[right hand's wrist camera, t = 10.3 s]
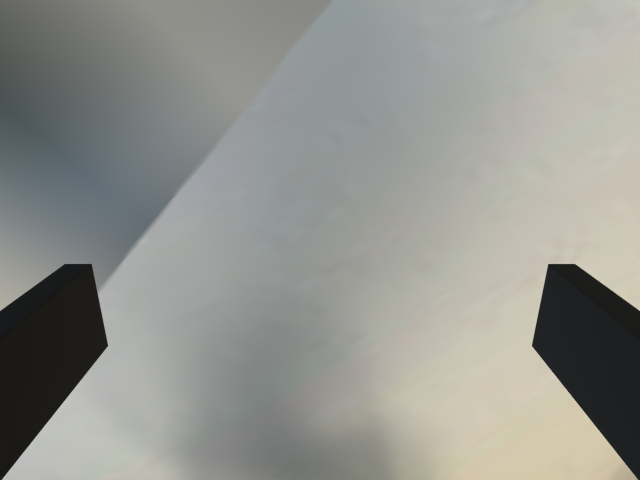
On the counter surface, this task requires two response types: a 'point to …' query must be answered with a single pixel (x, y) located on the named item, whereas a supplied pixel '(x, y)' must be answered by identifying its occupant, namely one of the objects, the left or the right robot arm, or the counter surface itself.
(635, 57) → the counter surface
